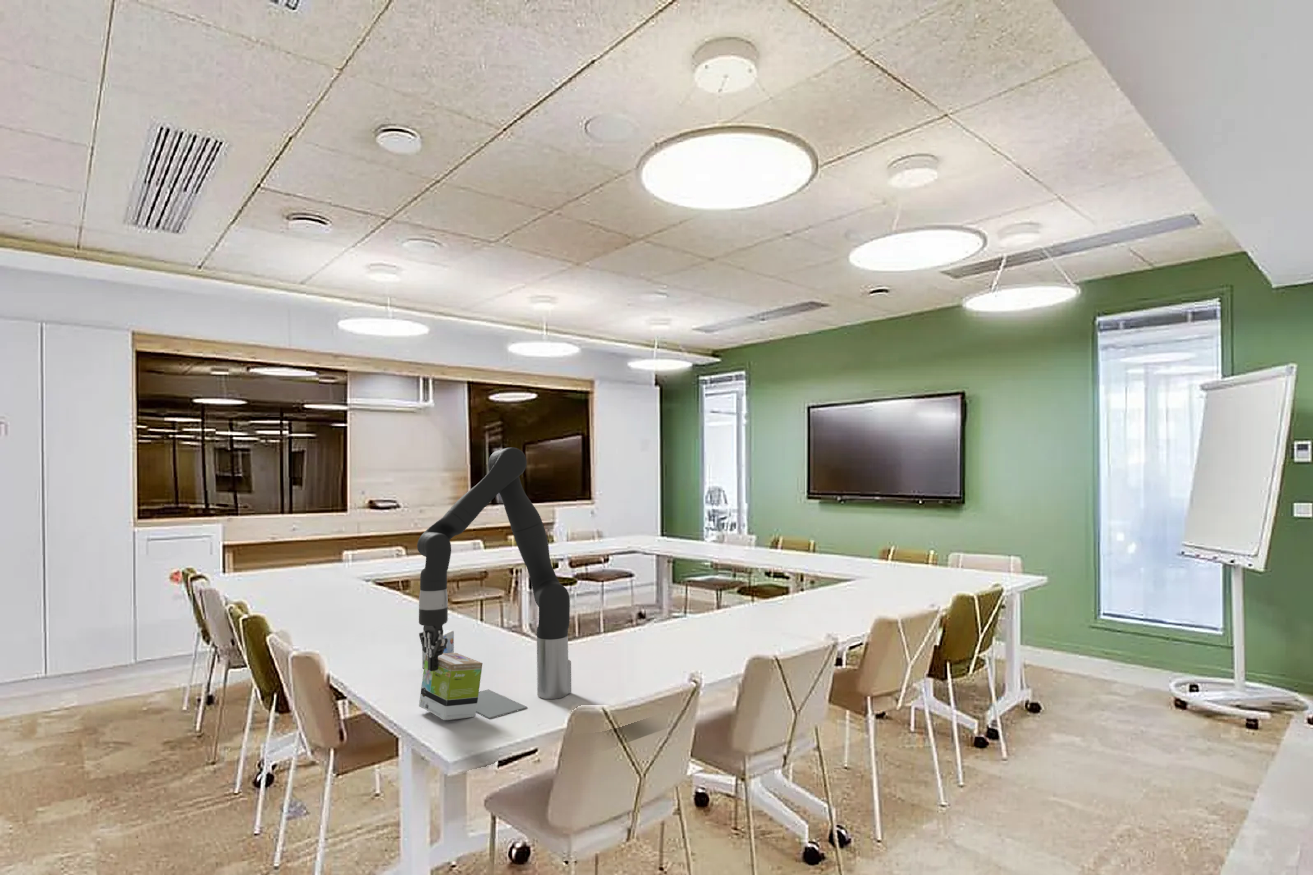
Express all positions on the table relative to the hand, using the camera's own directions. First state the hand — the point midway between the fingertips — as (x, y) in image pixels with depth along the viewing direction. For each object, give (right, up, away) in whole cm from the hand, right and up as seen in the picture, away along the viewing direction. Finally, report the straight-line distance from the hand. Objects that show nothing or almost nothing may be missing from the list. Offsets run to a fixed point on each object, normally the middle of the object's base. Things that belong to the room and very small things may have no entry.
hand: (432, 670), depth 197 cm
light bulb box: (-14, -15, +53) cm, 57 cm away
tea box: (+3, -13, +2) cm, 13 cm away
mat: (+13, -13, +11) cm, 21 cm away
